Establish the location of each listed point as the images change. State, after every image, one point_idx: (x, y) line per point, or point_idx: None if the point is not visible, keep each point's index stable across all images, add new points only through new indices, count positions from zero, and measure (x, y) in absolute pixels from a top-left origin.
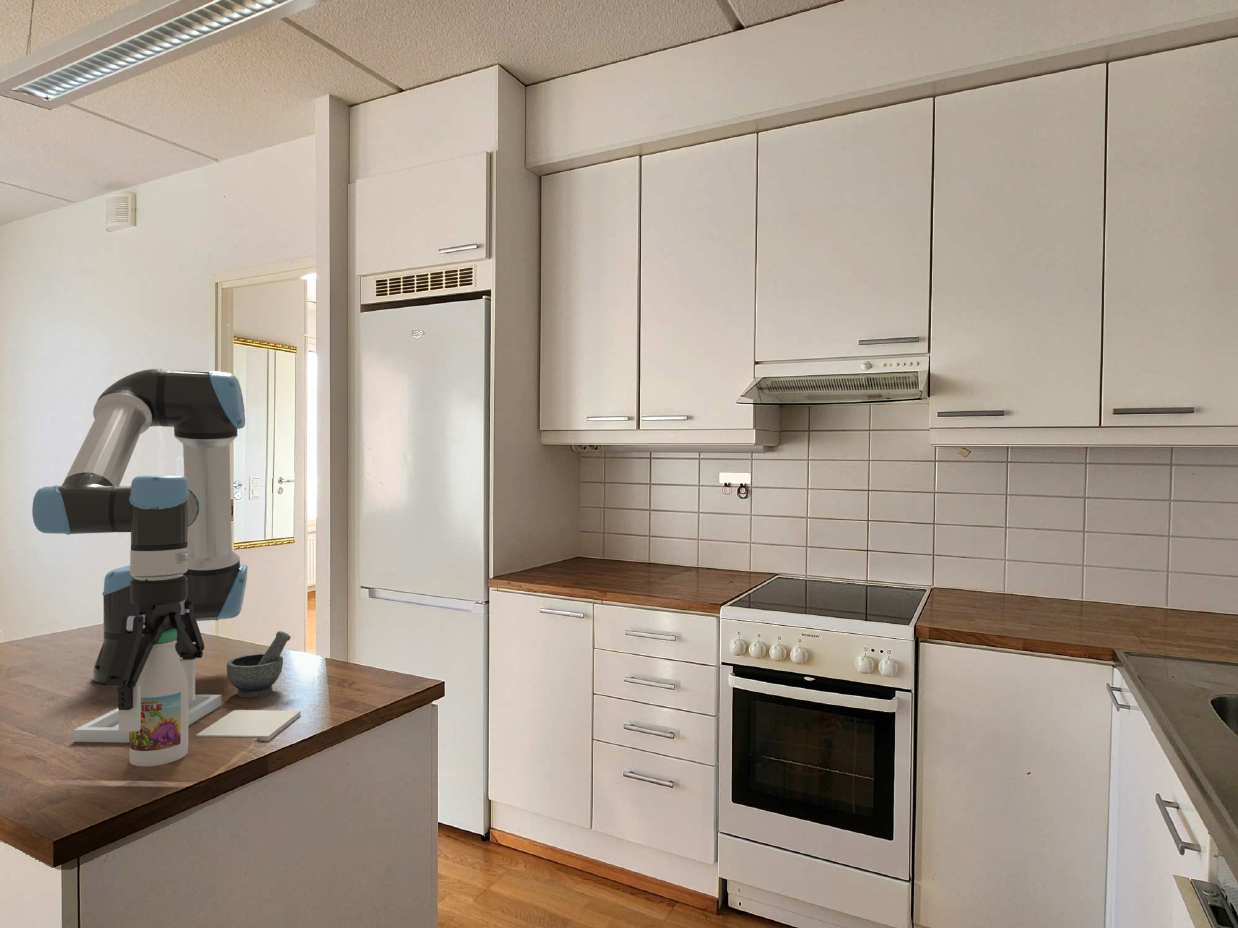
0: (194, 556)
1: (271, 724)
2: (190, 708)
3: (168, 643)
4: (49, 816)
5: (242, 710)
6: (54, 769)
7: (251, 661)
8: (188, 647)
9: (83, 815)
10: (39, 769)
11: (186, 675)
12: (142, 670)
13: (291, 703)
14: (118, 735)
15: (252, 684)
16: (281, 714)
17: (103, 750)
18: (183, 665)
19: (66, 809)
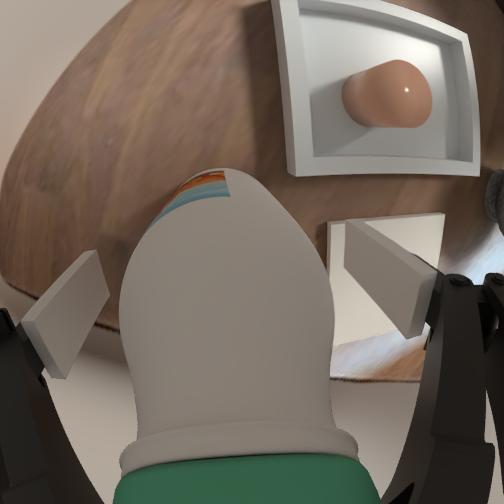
0: None
1: (375, 320)
2: (453, 123)
3: None
4: (17, 218)
5: (441, 231)
6: (148, 53)
7: None
8: (420, 385)
9: (32, 261)
10: (146, 28)
11: (380, 286)
12: (125, 351)
13: (465, 273)
14: (285, 75)
15: (500, 217)
16: None
17: (252, 67)
18: (402, 295)
19: (33, 223)
